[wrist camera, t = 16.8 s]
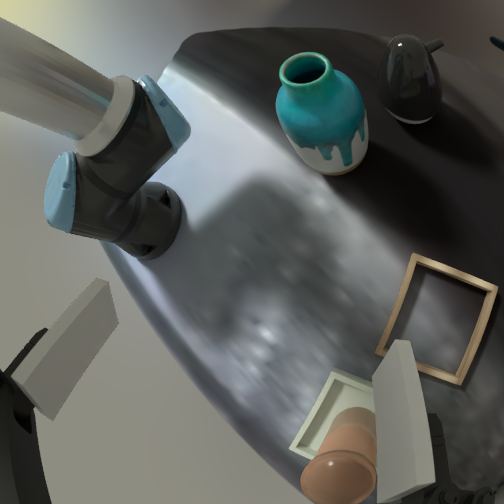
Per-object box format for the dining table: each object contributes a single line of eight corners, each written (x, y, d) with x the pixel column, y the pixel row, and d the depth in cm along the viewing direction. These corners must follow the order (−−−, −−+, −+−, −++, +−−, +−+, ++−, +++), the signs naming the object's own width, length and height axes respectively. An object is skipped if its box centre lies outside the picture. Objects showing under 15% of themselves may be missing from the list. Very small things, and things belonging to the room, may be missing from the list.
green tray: (293, 441, 36) (288, 448, 34) (334, 366, 36) (331, 370, 34) (372, 474, 30) (370, 483, 28) (421, 400, 30) (423, 407, 27)
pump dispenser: (449, 127, 33) (465, 61, 19) (393, 139, 37) (390, 72, 23) (422, 81, 35) (423, 14, 22) (370, 92, 39) (356, 24, 26)
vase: (370, 187, 38) (360, 107, 20) (300, 184, 42) (246, 113, 25) (370, 125, 39) (355, 33, 21) (305, 125, 43) (261, 43, 26)
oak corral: (374, 350, 34) (374, 353, 32) (411, 255, 34) (413, 252, 32) (456, 381, 28) (460, 385, 26) (492, 287, 28) (498, 286, 26)
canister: (320, 438, 34) (288, 491, 21) (343, 397, 34) (322, 443, 21) (364, 456, 30) (350, 515, 18) (391, 415, 30) (391, 469, 18)
